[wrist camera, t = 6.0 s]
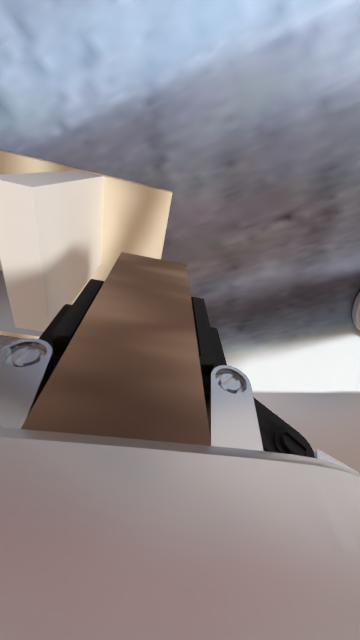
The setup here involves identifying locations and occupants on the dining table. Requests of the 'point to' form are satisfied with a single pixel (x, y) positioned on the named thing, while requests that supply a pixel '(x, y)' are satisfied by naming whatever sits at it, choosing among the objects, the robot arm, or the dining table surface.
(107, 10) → the dining table surface
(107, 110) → the dining table surface
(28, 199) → the tile
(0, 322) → the mat
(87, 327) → the brown wooden block
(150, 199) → the board
